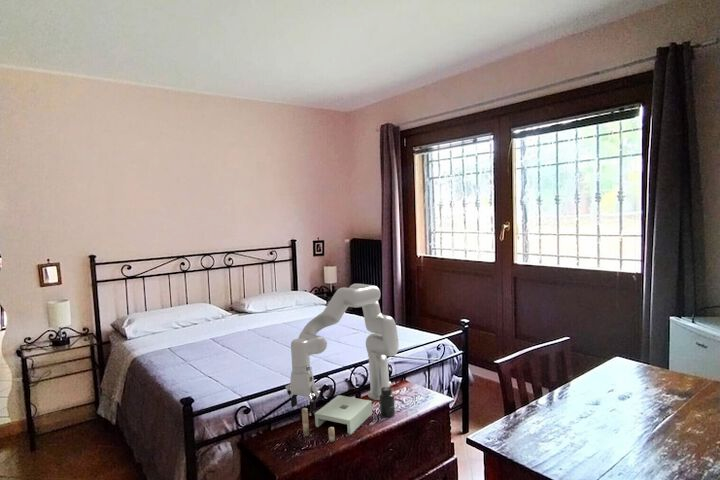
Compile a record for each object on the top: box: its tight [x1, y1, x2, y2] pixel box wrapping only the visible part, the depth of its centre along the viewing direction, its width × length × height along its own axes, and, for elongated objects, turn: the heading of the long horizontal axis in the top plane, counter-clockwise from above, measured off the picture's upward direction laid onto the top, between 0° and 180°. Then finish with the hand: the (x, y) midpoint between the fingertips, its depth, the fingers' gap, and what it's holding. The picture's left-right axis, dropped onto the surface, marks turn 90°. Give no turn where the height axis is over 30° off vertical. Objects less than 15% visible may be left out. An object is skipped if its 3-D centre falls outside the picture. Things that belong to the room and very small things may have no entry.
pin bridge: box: [314, 394, 373, 435], centre depth 196 cm, size 20×18×6 cm
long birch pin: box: [301, 407, 310, 437], centre depth 185 cm, size 2×2×11 cm
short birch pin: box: [327, 426, 336, 443], centre depth 179 cm, size 2×2×5 cm
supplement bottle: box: [379, 387, 396, 418], centre depth 198 cm, size 7×7×12 cm
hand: (303, 407), depth 184 cm, fingers open, 9 cm apart
